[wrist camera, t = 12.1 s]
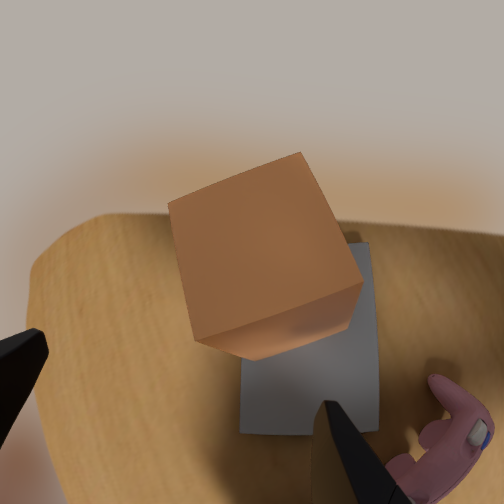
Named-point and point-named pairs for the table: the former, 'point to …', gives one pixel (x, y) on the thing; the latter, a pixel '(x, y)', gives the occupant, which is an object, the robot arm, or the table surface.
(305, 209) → the orange brown rectangular block
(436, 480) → the video game controller
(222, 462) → the table surface
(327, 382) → the plate
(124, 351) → the table surface
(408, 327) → the table surface
